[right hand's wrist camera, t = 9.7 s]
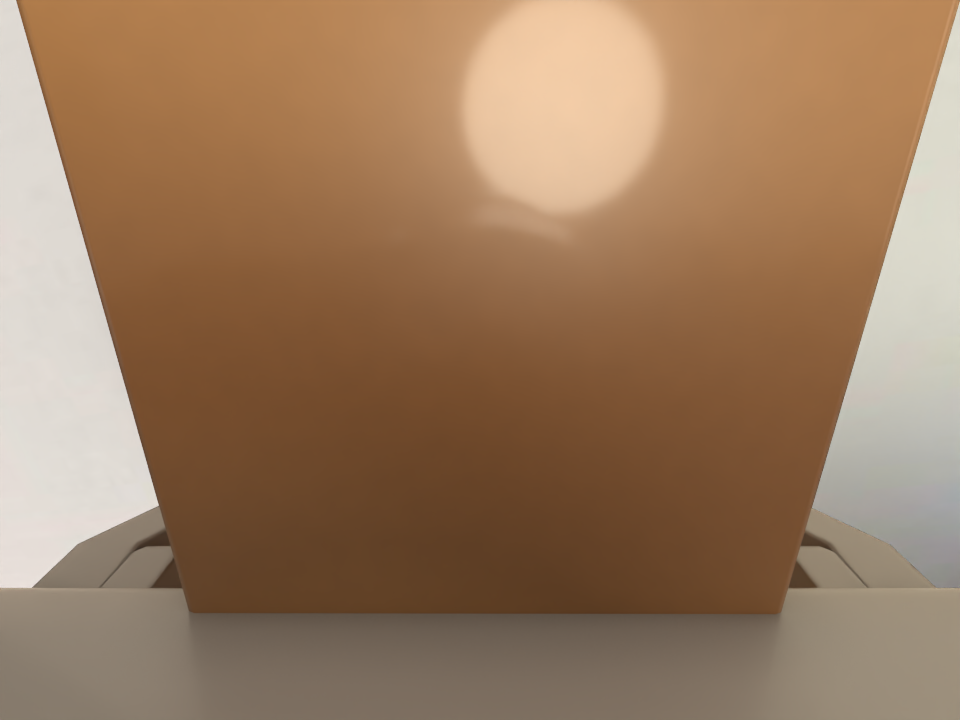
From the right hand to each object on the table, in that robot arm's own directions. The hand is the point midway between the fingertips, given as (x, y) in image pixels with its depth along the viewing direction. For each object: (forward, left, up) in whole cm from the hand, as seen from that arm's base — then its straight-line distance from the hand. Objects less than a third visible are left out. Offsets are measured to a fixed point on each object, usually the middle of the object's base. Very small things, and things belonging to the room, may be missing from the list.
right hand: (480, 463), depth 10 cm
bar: (+8, 0, -4) cm, 9 cm away
